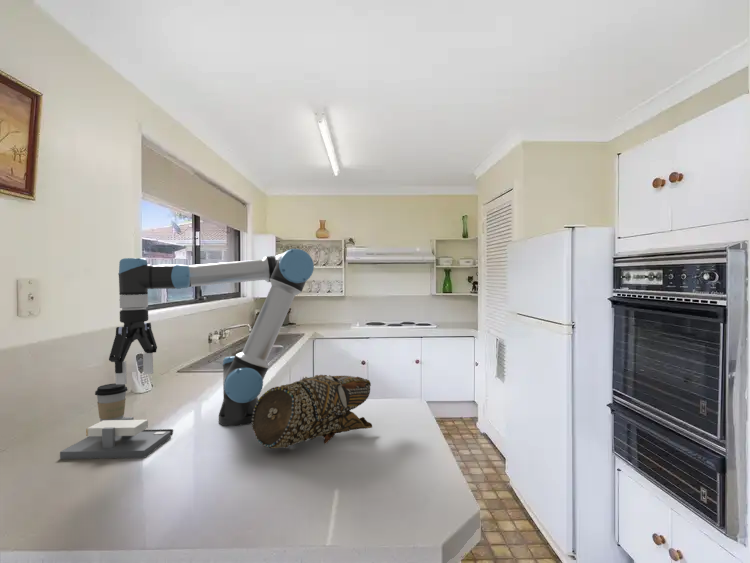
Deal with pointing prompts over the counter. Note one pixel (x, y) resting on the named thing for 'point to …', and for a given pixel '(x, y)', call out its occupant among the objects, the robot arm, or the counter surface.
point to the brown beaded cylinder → (309, 410)
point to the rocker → (118, 427)
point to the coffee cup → (111, 401)
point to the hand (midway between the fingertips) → (135, 378)
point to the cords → (158, 430)
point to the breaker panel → (116, 445)
